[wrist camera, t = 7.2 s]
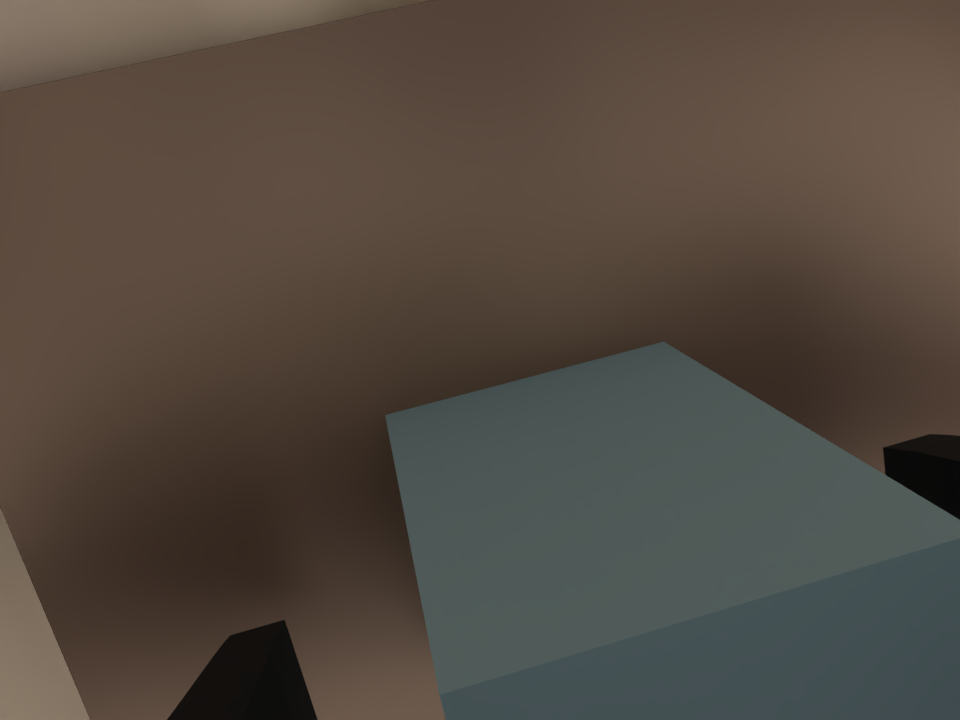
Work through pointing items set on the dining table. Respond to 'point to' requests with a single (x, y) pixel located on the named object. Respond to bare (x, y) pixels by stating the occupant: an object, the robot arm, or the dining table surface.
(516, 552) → the teal block
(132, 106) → the walnut base
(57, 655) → the dining table surface
